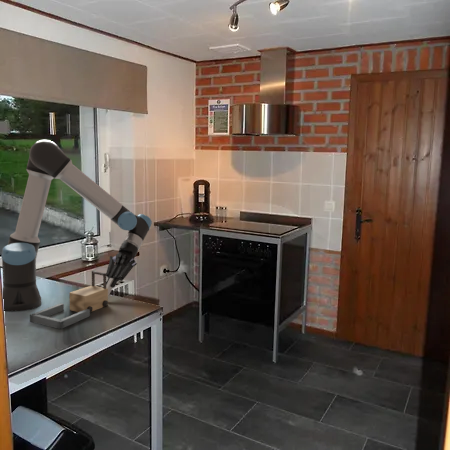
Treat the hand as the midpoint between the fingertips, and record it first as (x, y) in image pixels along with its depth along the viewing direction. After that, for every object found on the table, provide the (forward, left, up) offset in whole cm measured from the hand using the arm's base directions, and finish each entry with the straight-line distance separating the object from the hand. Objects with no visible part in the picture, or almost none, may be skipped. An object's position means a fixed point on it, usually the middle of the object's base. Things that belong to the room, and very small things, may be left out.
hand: (105, 293), depth 184 cm
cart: (0, -10, -3) cm, 10 cm away
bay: (0, -24, -3) cm, 24 cm away
